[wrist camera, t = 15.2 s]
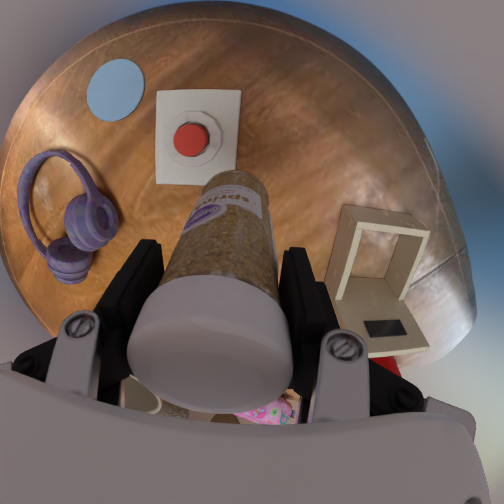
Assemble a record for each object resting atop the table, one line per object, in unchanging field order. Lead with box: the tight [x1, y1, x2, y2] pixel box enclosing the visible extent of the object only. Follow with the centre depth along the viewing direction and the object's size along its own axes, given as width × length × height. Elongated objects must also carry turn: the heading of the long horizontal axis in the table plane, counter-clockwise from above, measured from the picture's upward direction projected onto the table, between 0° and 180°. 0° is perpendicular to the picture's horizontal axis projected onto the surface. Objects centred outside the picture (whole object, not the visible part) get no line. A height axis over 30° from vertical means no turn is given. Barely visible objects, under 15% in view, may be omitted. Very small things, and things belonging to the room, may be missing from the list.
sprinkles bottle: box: [127, 170, 293, 414], centre depth 12 cm, size 5×5×14 cm
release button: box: [173, 124, 208, 156], centre depth 27 cm, size 4×4×2 cm
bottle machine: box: [325, 204, 431, 358], centre depth 32 cm, size 13×12×16 cm
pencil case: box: [234, 397, 295, 425], centre depth 54 cm, size 21×9×9 cm, turn 43°
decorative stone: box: [155, 400, 189, 419], centre depth 56 cm, size 10×8×10 cm
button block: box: [155, 89, 242, 185], centre depth 30 cm, size 12×10×4 cm
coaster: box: [87, 59, 145, 121], centre depth 27 cm, size 9×9×1 cm
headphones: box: [18, 149, 118, 284], centre depth 33 cm, size 18×8×20 cm
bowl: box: [211, 414, 240, 424], centre depth 63 cm, size 10×10×7 cm
